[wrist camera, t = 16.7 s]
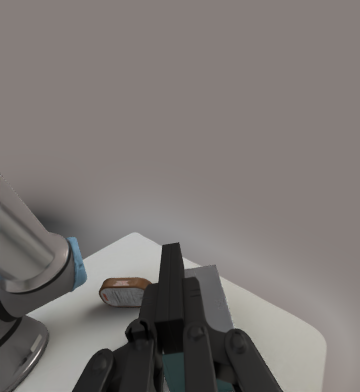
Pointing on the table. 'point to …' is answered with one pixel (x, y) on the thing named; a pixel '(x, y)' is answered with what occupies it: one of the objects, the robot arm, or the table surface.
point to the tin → (123, 291)
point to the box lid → (212, 297)
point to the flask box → (176, 374)
